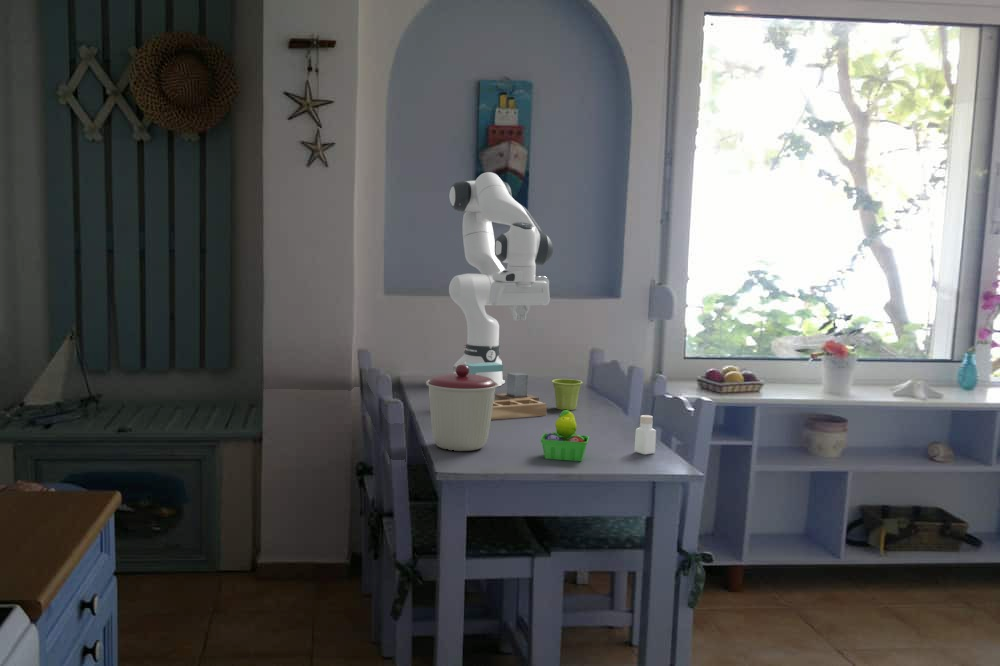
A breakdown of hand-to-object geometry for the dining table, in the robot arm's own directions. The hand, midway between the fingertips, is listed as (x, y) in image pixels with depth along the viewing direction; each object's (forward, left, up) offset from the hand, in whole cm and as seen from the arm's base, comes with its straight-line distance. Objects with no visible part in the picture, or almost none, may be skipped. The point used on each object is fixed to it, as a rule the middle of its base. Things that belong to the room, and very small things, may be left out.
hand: (519, 319), depth 305 cm
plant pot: (+10, +12, -27) cm, 32 cm away
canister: (+44, -44, -27) cm, 68 cm away
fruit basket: (+63, -25, -27) cm, 73 cm away
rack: (+12, -11, -27) cm, 31 cm away
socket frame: (0, -8, -27) cm, 28 cm away
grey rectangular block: (0, 0, -27) cm, 27 cm away
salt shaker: (+67, -3, -27) cm, 72 cm away
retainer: (0, -13, -26) cm, 29 cm away
